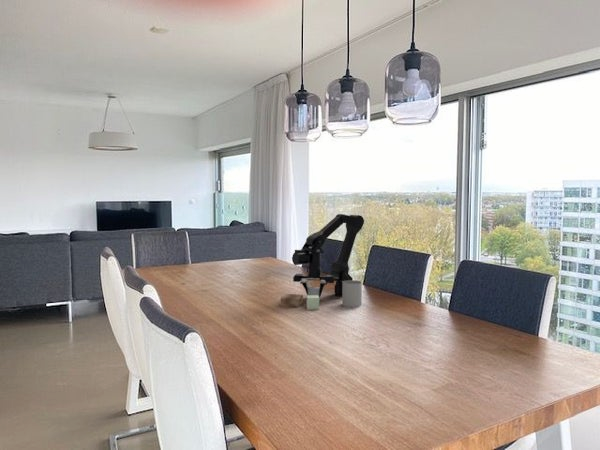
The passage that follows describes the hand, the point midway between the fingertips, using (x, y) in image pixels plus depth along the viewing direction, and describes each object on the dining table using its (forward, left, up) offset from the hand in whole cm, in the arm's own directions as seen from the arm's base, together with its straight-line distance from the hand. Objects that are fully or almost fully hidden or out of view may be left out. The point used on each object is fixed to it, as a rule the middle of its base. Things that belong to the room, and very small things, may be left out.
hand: (314, 296), depth 217 cm
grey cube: (0, 0, -1) cm, 1 cm away
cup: (-18, +7, -1) cm, 19 cm away
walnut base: (+8, +12, -1) cm, 14 cm away
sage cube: (-2, +16, -1) cm, 16 cm away
